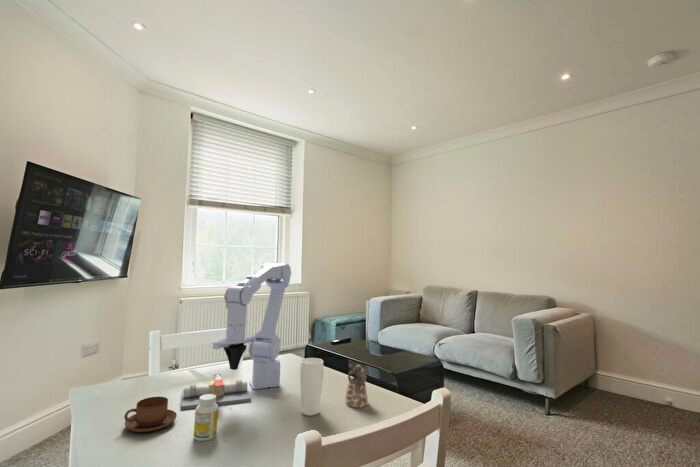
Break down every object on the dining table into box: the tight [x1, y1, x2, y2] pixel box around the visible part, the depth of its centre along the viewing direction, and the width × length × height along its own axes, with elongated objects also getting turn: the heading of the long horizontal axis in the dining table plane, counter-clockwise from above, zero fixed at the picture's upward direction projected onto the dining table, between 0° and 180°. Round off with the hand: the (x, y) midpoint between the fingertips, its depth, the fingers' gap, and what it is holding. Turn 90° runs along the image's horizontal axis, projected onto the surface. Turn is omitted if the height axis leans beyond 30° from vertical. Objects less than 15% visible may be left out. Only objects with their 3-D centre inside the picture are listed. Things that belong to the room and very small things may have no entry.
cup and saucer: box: [123, 396, 178, 433], centre depth 95 cm, size 12×12×6 cm
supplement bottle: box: [193, 394, 219, 442], centre depth 90 cm, size 5×5×10 cm
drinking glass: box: [299, 357, 324, 417], centre depth 106 cm, size 7×7×15 cm
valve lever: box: [212, 373, 225, 392], centre depth 111 cm, size 12×2×2 cm, turn 24°
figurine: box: [345, 364, 369, 408], centre depth 115 cm, size 7×7×12 cm
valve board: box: [180, 379, 252, 411], centre depth 115 cm, size 20×14×5 cm
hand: (233, 368), depth 111 cm, fingers closed
